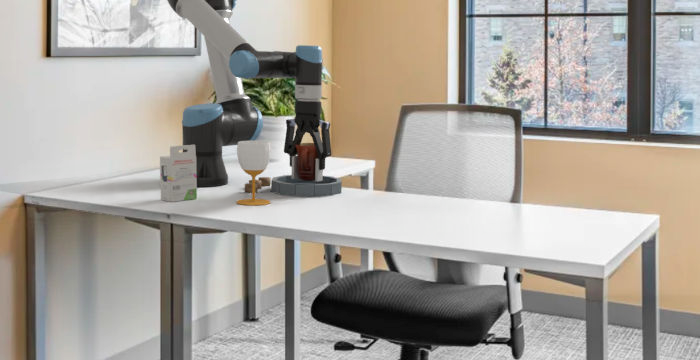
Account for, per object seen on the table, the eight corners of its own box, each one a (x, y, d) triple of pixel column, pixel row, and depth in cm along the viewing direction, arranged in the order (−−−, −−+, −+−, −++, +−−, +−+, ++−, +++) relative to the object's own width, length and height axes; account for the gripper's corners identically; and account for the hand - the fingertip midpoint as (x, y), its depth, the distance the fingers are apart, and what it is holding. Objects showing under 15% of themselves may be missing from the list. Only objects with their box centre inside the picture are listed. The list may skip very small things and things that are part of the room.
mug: (299, 176, 261) (299, 142, 260) (327, 178, 260) (328, 143, 258) (288, 182, 250) (288, 146, 248) (318, 184, 248) (318, 147, 246)
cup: (261, 206, 228) (262, 144, 226) (230, 203, 231) (230, 142, 229) (276, 201, 237) (277, 141, 234) (245, 198, 240) (246, 139, 237)
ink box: (186, 196, 241) (186, 142, 238) (197, 199, 237) (197, 144, 235) (159, 199, 235) (158, 144, 232) (169, 202, 231) (169, 146, 229)
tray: (258, 191, 252) (258, 180, 251) (297, 183, 269) (297, 172, 268) (317, 198, 242) (317, 187, 241) (354, 189, 259) (354, 179, 259)
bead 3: (255, 186, 262) (256, 178, 262) (263, 184, 265) (263, 176, 265) (265, 187, 260) (265, 179, 260) (272, 185, 263) (273, 177, 263)
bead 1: (242, 192, 250) (242, 184, 250) (249, 191, 253) (249, 182, 253) (252, 193, 248) (252, 185, 248) (260, 192, 251) (260, 183, 251)
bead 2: (246, 188, 257) (246, 180, 256) (253, 187, 260) (253, 179, 259) (256, 190, 255) (256, 181, 254) (263, 188, 258) (263, 180, 258)
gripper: (271, 98, 253) (270, 177, 257) (331, 102, 243) (330, 184, 247) (286, 97, 260) (285, 174, 263) (345, 101, 250) (343, 181, 253)
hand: (306, 179), depth 255 cm, fingers closed on mug, 7 cm apart
